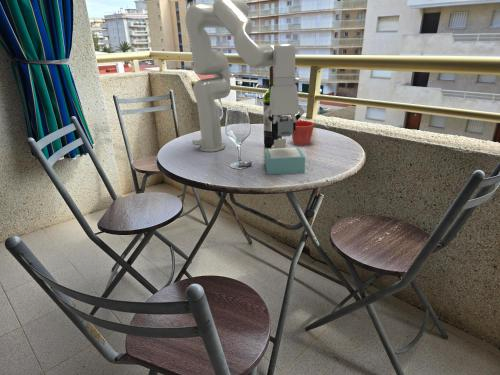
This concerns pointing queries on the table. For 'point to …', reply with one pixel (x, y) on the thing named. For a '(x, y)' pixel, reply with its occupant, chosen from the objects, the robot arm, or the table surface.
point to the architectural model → (279, 143)
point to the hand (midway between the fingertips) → (284, 132)
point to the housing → (284, 126)
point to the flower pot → (303, 132)
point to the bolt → (245, 164)
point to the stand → (284, 160)
